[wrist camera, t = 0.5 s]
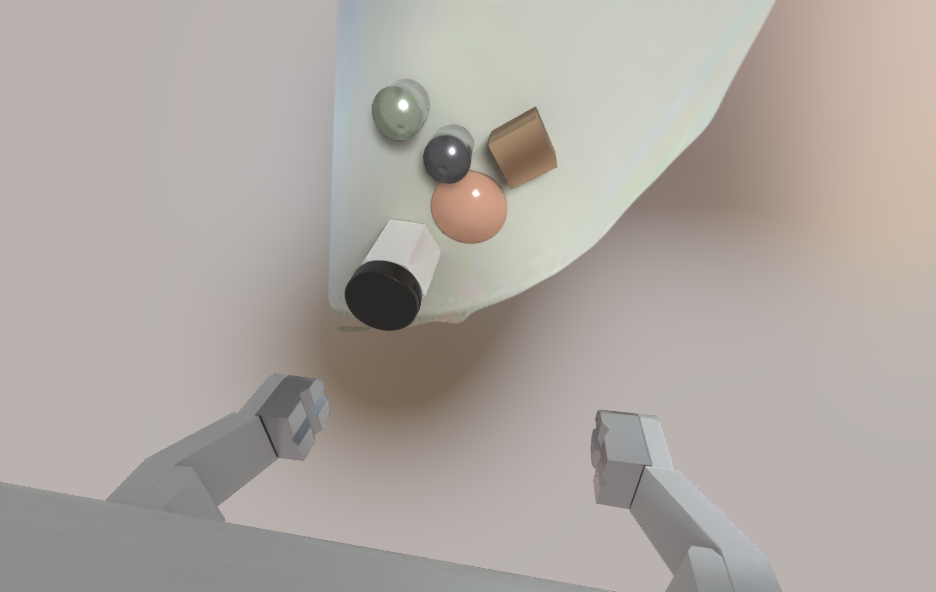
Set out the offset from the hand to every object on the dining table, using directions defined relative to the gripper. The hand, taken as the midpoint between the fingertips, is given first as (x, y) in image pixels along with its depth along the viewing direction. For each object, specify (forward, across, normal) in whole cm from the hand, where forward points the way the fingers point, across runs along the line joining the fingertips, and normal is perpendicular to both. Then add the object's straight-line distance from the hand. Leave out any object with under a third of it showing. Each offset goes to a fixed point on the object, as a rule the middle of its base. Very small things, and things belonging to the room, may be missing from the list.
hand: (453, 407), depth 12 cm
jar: (+38, +14, +13) cm, 42 cm away
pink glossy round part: (+37, +6, +7) cm, 38 cm away
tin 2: (+37, +7, 0) cm, 37 cm away
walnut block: (+37, 0, 0) cm, 37 cm away
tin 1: (+36, +12, -4) cm, 38 cm away
